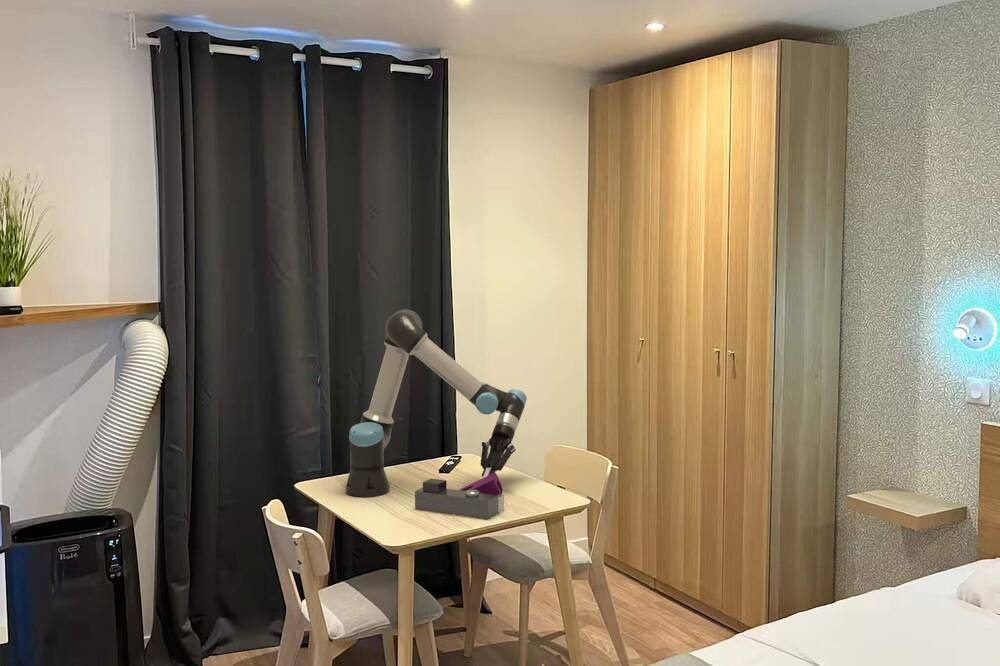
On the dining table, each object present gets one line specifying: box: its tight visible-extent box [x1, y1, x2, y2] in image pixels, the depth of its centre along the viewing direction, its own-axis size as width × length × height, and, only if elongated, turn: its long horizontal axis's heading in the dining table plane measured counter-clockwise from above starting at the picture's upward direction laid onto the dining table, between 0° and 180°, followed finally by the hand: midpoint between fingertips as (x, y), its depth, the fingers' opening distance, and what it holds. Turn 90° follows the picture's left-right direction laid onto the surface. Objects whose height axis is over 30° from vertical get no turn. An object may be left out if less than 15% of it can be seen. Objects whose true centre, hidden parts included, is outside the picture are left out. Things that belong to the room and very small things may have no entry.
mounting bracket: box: [458, 471, 504, 495], centre depth 292 cm, size 10×8×18 cm
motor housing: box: [414, 478, 505, 520], centre depth 285 cm, size 27×11×9 cm, turn 63°
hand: (483, 486), depth 300 cm, fingers closed
